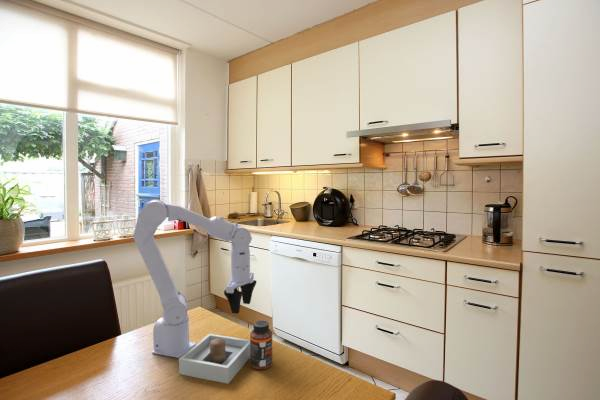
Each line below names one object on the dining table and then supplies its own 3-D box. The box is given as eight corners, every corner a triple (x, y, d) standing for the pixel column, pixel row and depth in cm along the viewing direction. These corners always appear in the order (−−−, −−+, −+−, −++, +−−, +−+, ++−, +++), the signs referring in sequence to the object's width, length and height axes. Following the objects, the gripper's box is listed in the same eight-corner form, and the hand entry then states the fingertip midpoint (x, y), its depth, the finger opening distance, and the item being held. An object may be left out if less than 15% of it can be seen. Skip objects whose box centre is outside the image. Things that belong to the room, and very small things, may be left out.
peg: (207, 366, 86) (206, 344, 86) (215, 358, 90) (215, 337, 89) (220, 369, 85) (220, 347, 84) (228, 360, 89) (228, 339, 88)
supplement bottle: (268, 372, 83) (268, 329, 83) (246, 369, 85) (246, 327, 84) (275, 359, 89) (274, 319, 89) (254, 357, 90) (254, 317, 90)
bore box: (179, 374, 83) (178, 358, 82) (209, 346, 96) (209, 333, 96) (228, 383, 79) (227, 368, 78) (252, 353, 92) (252, 340, 92)
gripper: (241, 272, 92) (242, 319, 93) (261, 260, 106) (262, 300, 107) (219, 270, 94) (220, 316, 95) (242, 258, 108) (243, 298, 109)
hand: (241, 308), depth 101 cm, fingers open, 7 cm apart
